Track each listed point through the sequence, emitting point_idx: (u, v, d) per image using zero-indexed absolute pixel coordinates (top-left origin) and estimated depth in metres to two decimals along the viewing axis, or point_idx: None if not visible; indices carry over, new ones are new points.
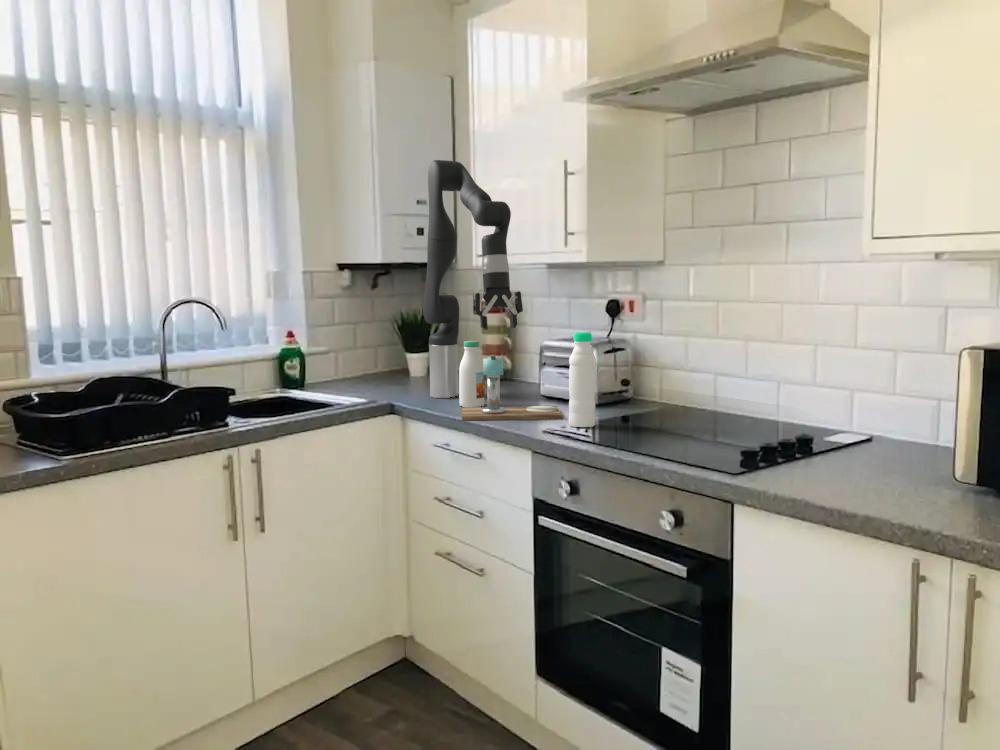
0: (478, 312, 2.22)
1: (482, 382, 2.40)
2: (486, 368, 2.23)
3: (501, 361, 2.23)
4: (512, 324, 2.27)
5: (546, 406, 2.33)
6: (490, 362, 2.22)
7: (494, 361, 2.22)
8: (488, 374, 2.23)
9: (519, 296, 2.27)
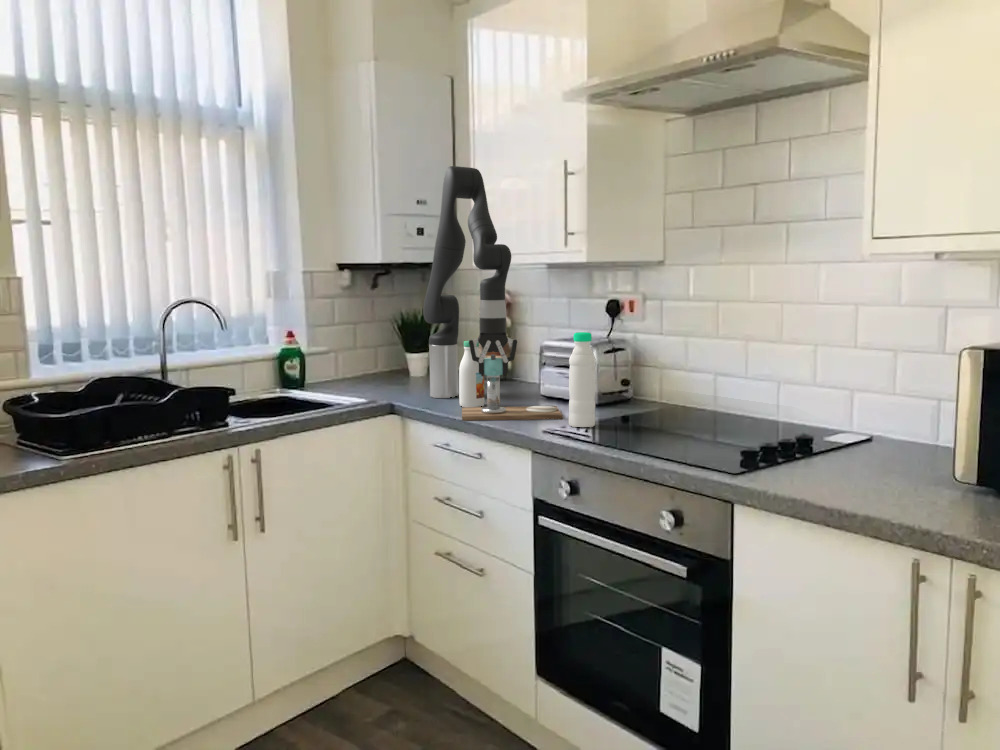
0: (474, 359, 2.23)
1: (482, 382, 2.40)
2: (486, 368, 2.23)
3: (501, 361, 2.23)
4: (503, 372, 2.25)
5: (546, 406, 2.33)
6: (490, 362, 2.22)
7: (494, 361, 2.22)
8: (488, 374, 2.23)
9: (514, 344, 2.23)
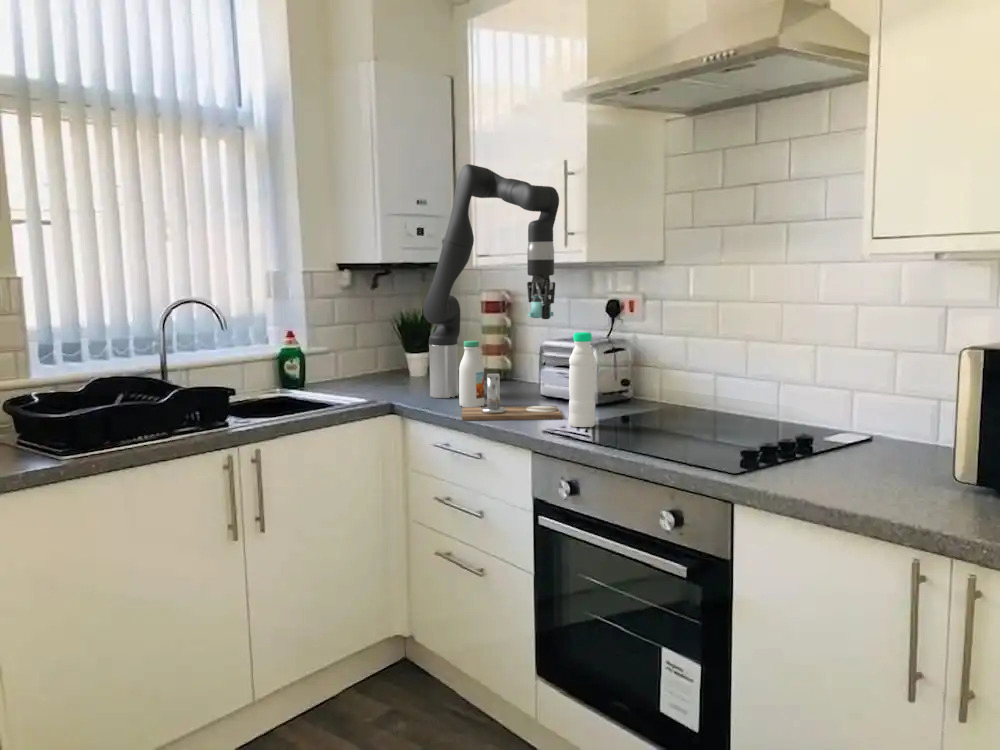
0: (529, 300, 2.29)
1: (482, 382, 2.40)
2: None
3: (539, 304, 2.22)
4: None
5: (546, 406, 2.33)
6: (531, 304, 2.25)
7: (532, 303, 2.24)
8: None
9: (546, 287, 2.18)
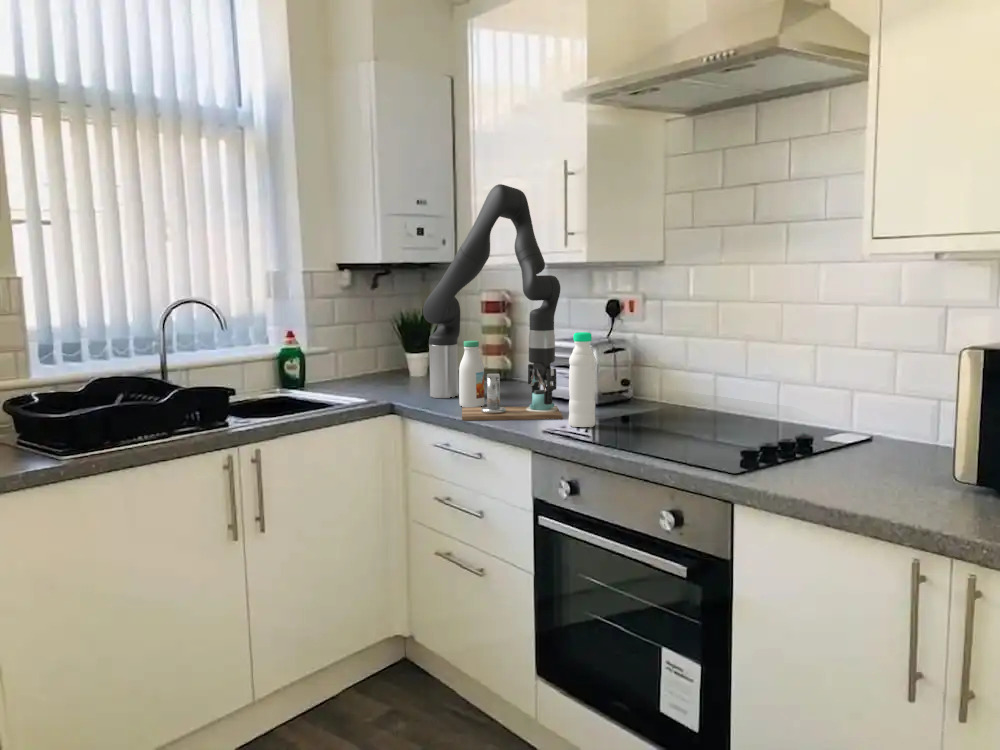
0: (528, 382, 2.33)
1: (482, 382, 2.40)
2: None
3: (540, 396, 2.26)
4: None
5: None
6: (532, 395, 2.28)
7: (533, 395, 2.27)
8: None
9: (547, 374, 2.21)
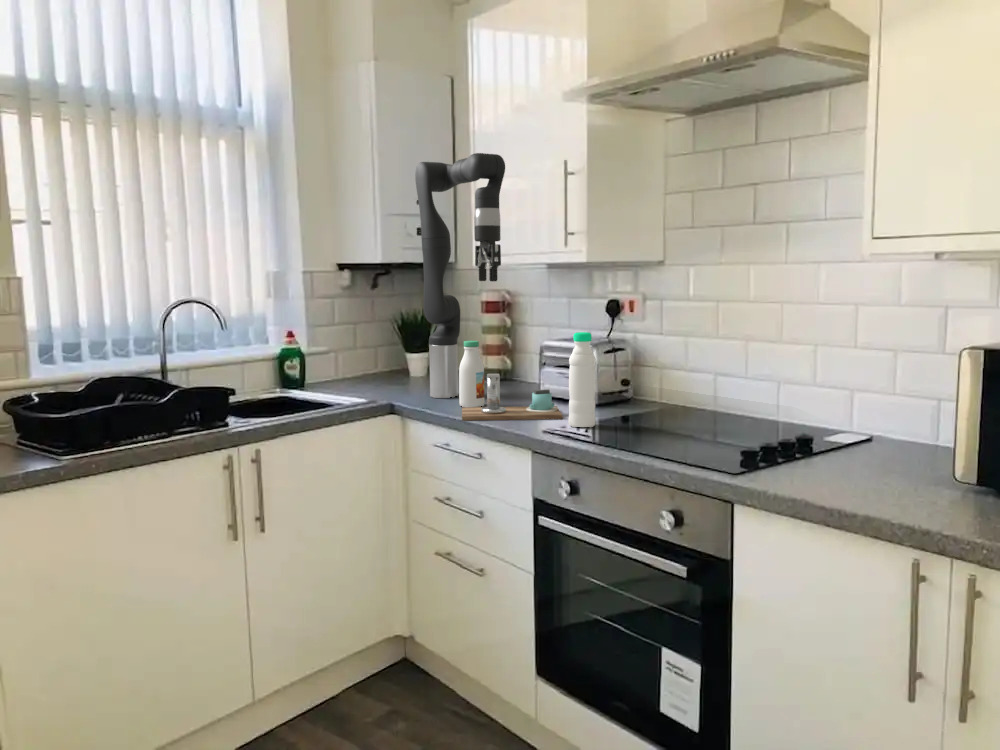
0: (475, 264, 2.36)
1: (482, 382, 2.40)
2: None
3: (540, 396, 2.26)
4: None
5: None
6: (532, 396, 2.28)
7: (533, 395, 2.27)
8: None
9: (492, 249, 2.24)
